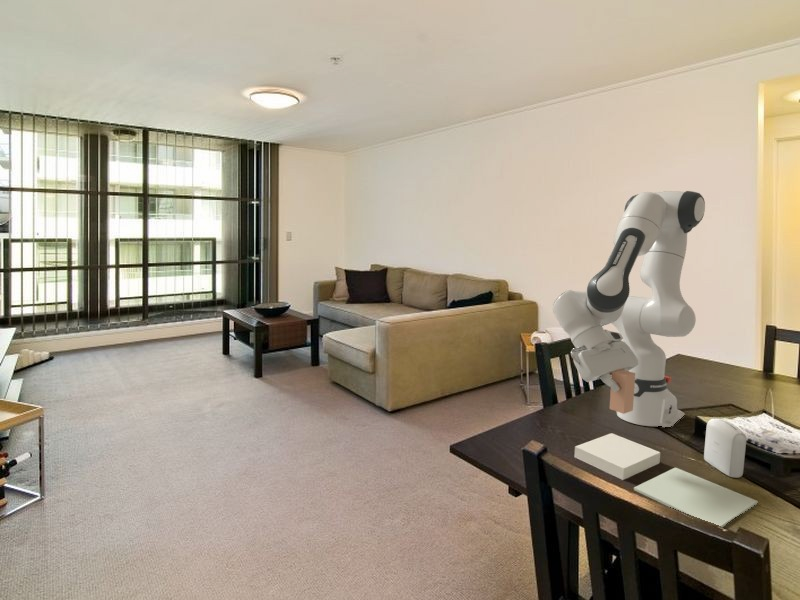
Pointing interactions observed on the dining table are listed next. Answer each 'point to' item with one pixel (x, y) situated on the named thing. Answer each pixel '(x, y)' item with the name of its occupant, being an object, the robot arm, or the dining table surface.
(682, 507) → the mat
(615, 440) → the block
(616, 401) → the block
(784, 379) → the dining table surface
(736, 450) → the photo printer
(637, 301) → the robot arm
